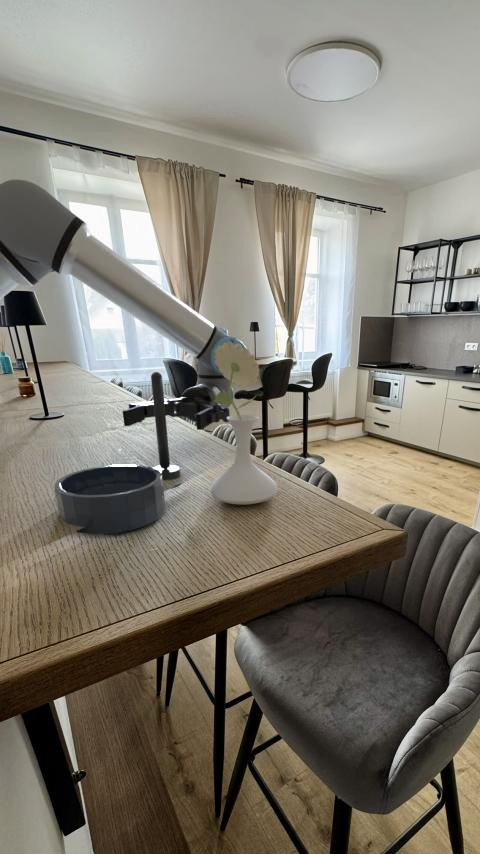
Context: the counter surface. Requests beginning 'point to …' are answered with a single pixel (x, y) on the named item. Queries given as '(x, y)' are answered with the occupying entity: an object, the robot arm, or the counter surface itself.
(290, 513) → the counter surface
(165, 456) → the rod with disc base
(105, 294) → the robot arm
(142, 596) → the counter surface
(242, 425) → the flower in vase
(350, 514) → the counter surface
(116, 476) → the bowl
